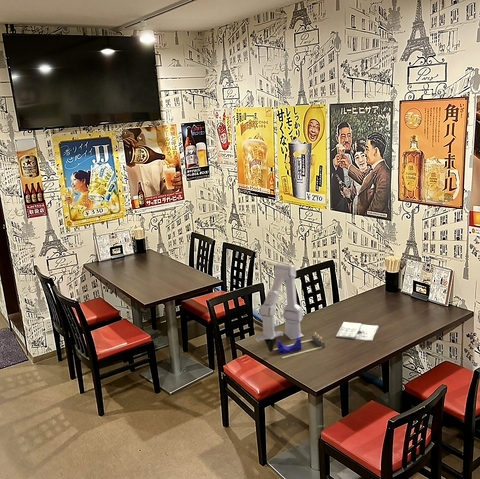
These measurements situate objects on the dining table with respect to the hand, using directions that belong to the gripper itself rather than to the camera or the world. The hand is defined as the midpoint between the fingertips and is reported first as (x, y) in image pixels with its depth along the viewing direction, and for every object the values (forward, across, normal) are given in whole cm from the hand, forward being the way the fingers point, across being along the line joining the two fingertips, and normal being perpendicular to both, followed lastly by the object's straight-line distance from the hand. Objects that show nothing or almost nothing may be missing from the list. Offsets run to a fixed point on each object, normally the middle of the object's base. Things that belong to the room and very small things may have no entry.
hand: (270, 351), depth 255 cm
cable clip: (+3, +11, +1) cm, 12 cm away
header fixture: (+3, +16, 0) cm, 17 cm away
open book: (+4, +53, +1) cm, 53 cm away
